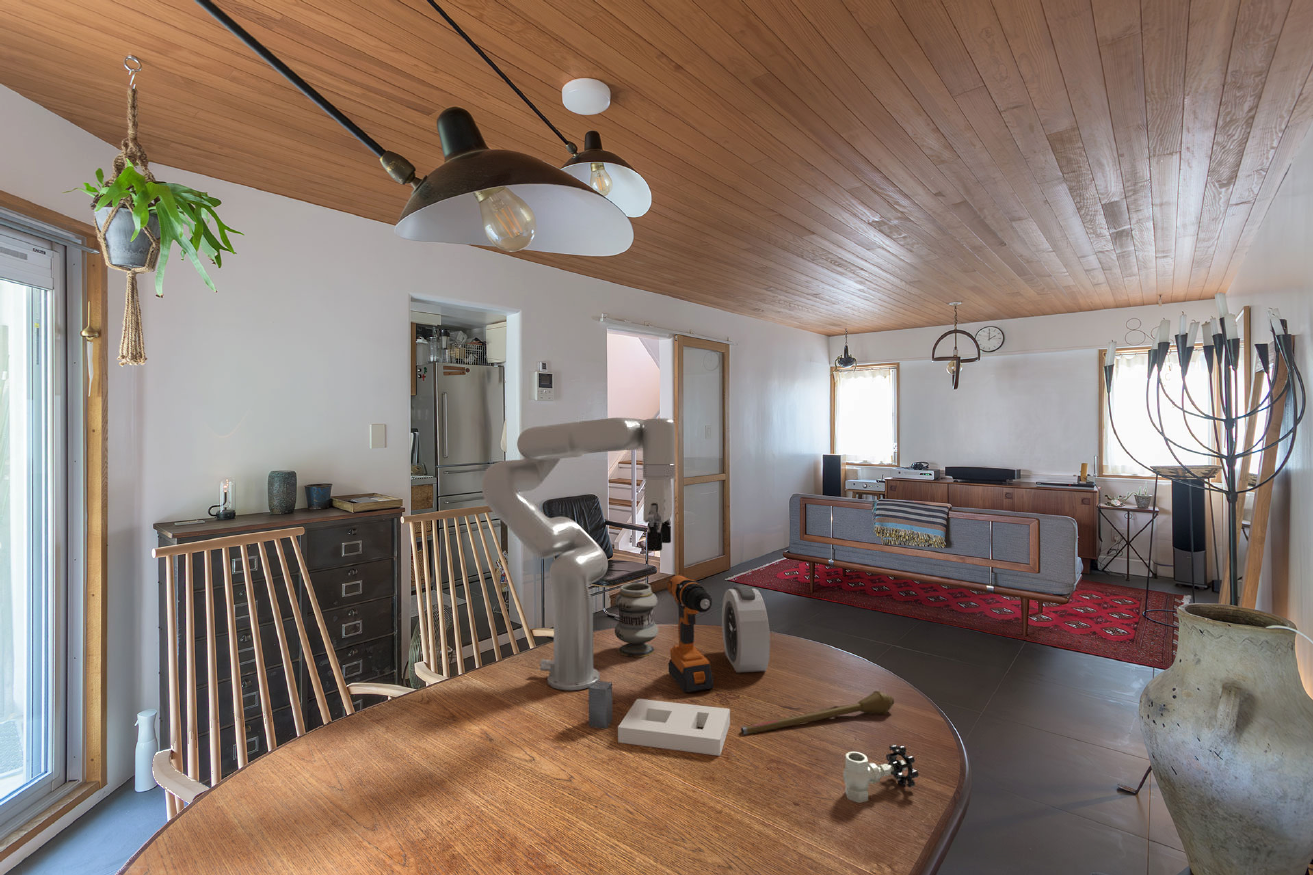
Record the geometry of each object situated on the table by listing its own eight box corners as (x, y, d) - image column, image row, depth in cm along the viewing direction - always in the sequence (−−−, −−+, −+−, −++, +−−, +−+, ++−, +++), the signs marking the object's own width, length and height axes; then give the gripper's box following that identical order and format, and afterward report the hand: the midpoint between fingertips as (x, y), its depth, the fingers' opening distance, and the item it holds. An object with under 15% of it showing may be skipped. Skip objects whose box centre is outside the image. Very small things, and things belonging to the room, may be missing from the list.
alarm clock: (721, 648, 168) (721, 577, 168) (748, 647, 169) (747, 576, 169) (740, 678, 147) (740, 598, 147) (770, 677, 148) (770, 596, 148)
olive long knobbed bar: (748, 748, 118) (738, 739, 122) (900, 715, 127) (886, 707, 132) (746, 723, 118) (736, 715, 123) (897, 692, 128) (883, 685, 132)
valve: (859, 811, 95) (918, 794, 100) (859, 769, 95) (918, 755, 100) (833, 788, 102) (890, 773, 106) (833, 749, 102) (890, 736, 106)
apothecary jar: (610, 657, 162) (609, 590, 162) (620, 642, 174) (619, 580, 174) (654, 660, 160) (653, 592, 160) (661, 644, 172) (661, 581, 172)
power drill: (725, 702, 134) (725, 590, 134) (694, 707, 132) (693, 593, 132) (692, 667, 155) (692, 570, 155) (665, 670, 153) (664, 572, 153)
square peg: (588, 726, 124) (588, 687, 124) (595, 718, 127) (595, 680, 127) (606, 728, 123) (606, 689, 123) (612, 720, 126) (612, 682, 126)
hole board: (618, 742, 117) (618, 726, 117) (637, 712, 130) (637, 698, 130) (720, 755, 112) (719, 739, 112) (729, 723, 125) (729, 708, 125)
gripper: (651, 469, 147) (652, 539, 148) (633, 474, 131) (634, 553, 131) (682, 470, 146) (682, 540, 146) (667, 474, 129) (667, 554, 129)
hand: (659, 546), depth 138 cm, fingers open, 9 cm apart
